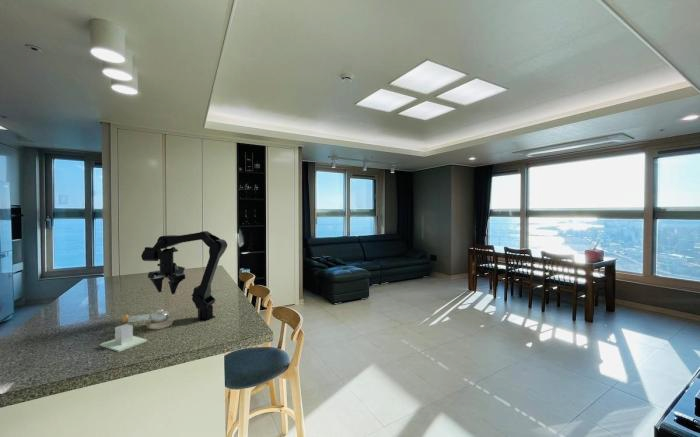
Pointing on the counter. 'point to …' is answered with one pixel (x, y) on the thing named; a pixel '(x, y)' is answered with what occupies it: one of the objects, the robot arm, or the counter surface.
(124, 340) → the grey rectangular block
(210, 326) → the counter surface
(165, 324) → the base
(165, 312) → the crank handle
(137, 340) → the mat
